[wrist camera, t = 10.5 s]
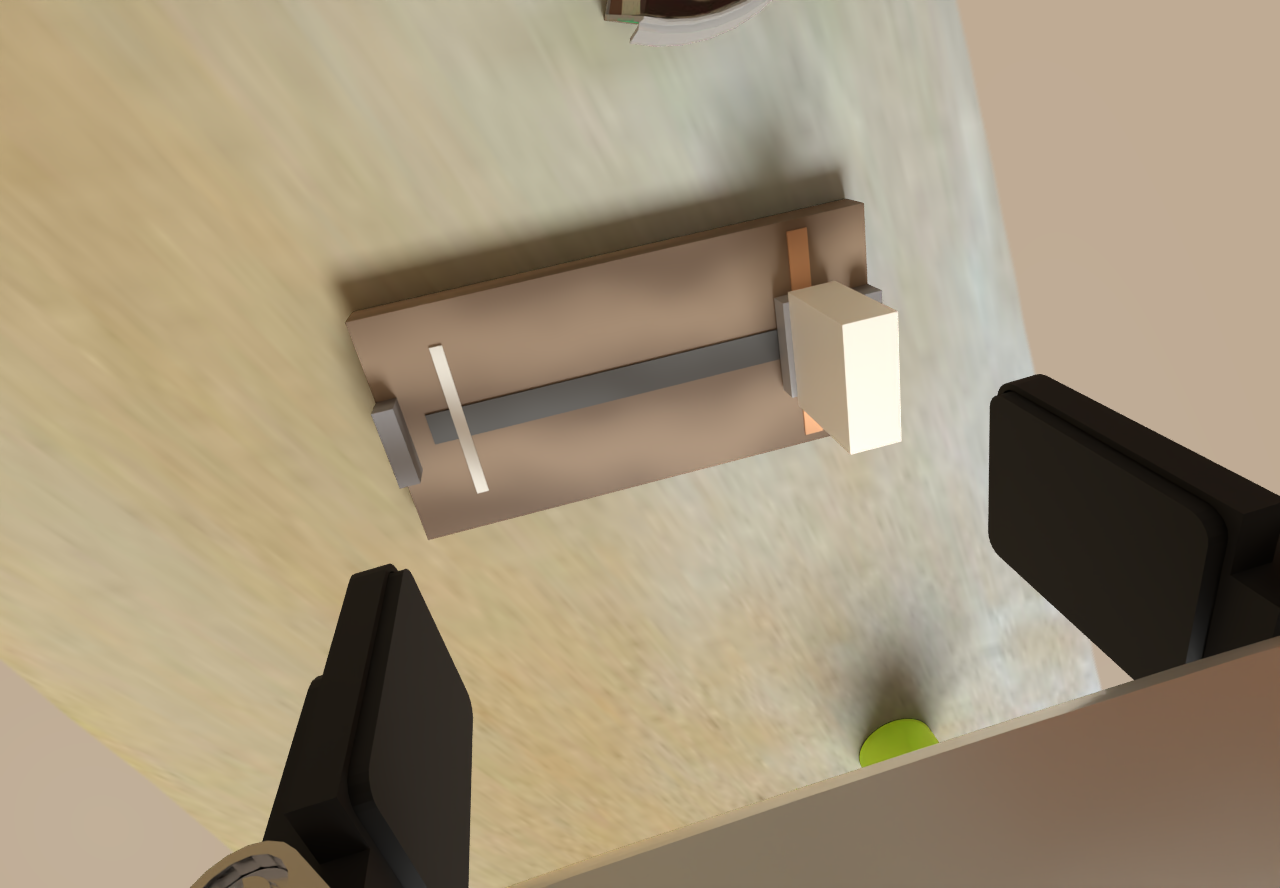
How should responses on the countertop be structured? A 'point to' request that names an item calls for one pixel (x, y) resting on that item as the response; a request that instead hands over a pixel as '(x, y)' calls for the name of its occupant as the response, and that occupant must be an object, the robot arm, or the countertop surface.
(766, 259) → the slider board
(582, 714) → the countertop surface
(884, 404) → the block
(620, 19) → the food container
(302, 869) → the robot arm
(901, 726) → the soap dispenser
